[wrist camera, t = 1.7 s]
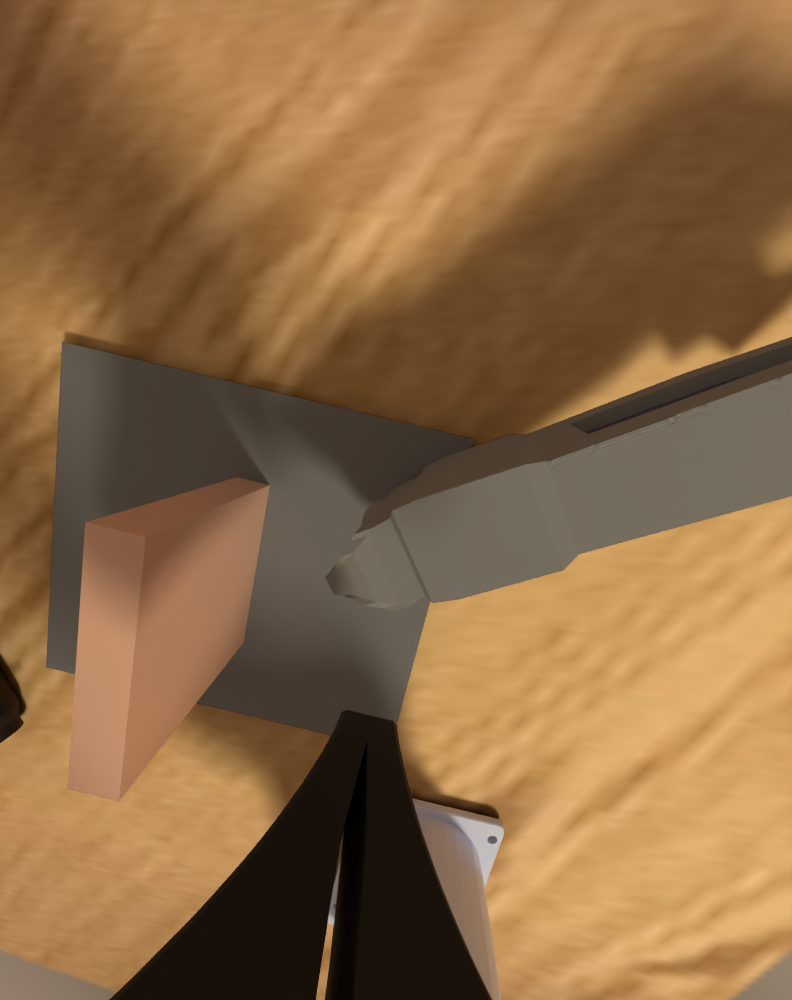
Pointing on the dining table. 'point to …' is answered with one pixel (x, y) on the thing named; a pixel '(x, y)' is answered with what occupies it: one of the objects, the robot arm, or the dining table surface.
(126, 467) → the mat
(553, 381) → the dining table surface
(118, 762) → the tile
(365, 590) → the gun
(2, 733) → the door handle
